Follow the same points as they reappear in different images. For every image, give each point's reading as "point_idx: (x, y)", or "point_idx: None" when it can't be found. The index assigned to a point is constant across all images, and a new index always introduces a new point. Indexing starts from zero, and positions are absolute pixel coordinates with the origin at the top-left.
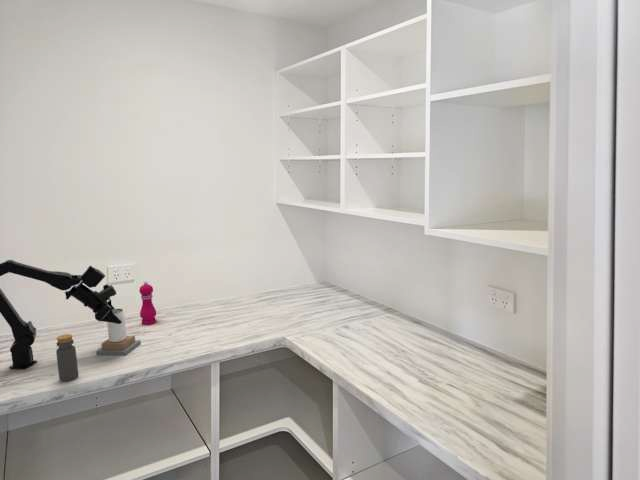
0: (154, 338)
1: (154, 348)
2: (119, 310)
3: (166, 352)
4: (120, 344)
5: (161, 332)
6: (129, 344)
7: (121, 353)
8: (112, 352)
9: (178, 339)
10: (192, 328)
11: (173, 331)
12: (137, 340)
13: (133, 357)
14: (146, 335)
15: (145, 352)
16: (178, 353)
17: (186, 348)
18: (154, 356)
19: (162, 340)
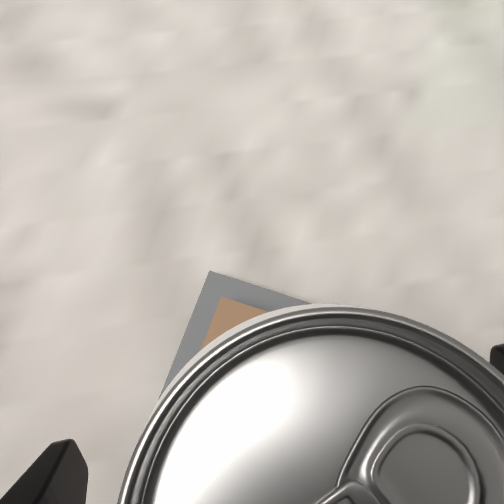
0: (131, 198)
1: (341, 173)
2: (245, 419)
3: (433, 96)
4: None
5: (20, 167)
6: None
7: None
8: None
9: (211, 55)
10: (35, 2)
11: (38, 96)
12: (207, 293)
13: (496, 290)
14: (36, 262)
15: (407, 221)
16: (462, 34)
17: (386, 4)
18: (494, 155)
19: (195, 142)
